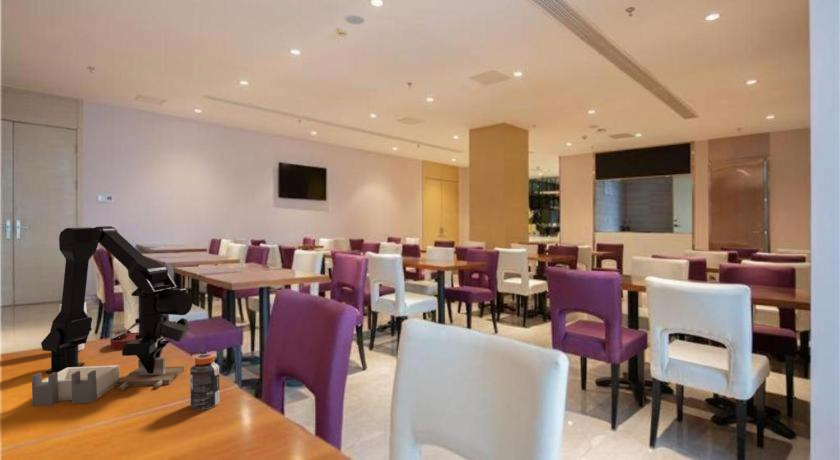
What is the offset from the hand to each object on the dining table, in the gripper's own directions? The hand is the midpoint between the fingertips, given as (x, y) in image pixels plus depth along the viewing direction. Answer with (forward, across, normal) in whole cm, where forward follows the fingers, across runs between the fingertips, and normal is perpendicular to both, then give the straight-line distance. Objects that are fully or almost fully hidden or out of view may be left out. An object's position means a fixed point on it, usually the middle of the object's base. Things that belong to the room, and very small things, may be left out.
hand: (152, 371), depth 116 cm
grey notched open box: (+2, -8, +13) cm, 15 cm away
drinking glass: (+2, +29, +35) cm, 45 cm away
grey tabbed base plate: (+2, -1, 0) cm, 2 cm away
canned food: (+2, +33, +21) cm, 39 cm away
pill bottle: (+2, -19, -19) cm, 27 cm away
